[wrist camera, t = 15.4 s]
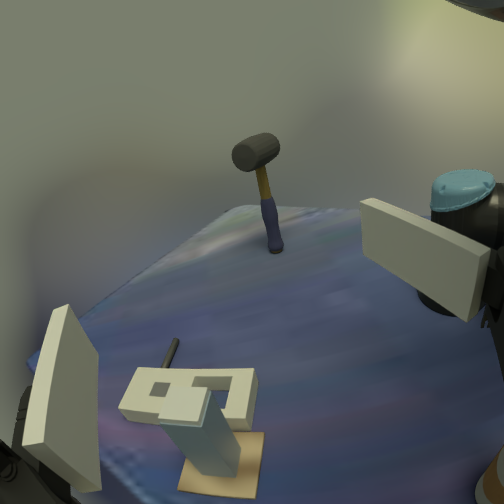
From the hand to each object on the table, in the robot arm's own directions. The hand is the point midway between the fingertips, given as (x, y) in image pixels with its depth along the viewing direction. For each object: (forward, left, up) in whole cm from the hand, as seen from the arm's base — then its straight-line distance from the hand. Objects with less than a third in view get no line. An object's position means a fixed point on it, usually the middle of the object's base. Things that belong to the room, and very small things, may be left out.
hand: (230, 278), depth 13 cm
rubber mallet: (-63, -7, -32) cm, 71 cm away
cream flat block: (-21, -17, -32) cm, 42 cm away
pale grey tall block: (-6, -10, -31) cm, 34 cm away
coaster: (-6, -10, -32) cm, 34 cm away
